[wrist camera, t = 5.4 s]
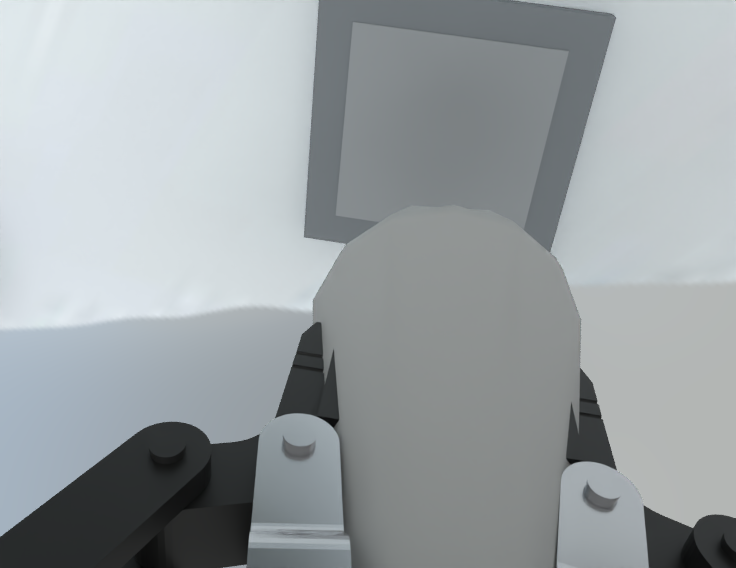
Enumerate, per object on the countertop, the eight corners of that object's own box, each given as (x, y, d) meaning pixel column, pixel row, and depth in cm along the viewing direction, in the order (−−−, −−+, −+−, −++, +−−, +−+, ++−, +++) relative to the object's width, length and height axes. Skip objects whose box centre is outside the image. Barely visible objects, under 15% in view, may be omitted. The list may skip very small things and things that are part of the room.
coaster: (612, 13, 28) (616, 17, 27) (542, 265, 34) (543, 274, 33) (324, -25, 29) (320, -22, 28) (307, 229, 35) (303, 237, 34)
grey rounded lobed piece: (480, 400, 19) (523, 1139, 8) (294, 312, 18) (48, 1005, 7) (612, 238, 16) (974, 1049, 5) (398, 123, 15) (256, 801, 4)
